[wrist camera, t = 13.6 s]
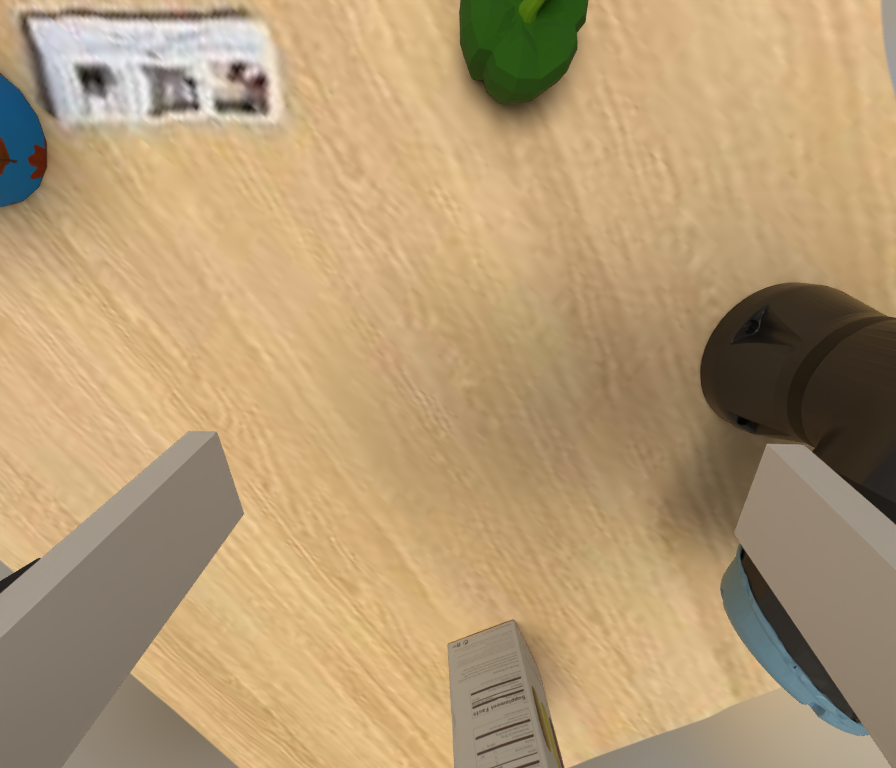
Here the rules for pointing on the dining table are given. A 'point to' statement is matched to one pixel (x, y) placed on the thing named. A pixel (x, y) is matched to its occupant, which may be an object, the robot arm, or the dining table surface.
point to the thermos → (19, 146)
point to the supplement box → (499, 703)
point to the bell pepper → (519, 44)
